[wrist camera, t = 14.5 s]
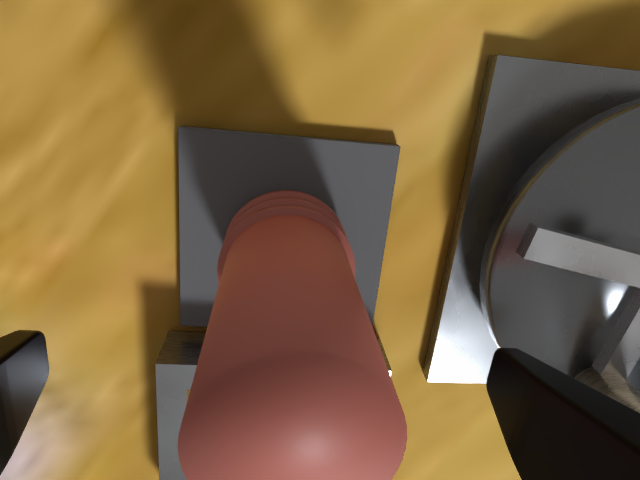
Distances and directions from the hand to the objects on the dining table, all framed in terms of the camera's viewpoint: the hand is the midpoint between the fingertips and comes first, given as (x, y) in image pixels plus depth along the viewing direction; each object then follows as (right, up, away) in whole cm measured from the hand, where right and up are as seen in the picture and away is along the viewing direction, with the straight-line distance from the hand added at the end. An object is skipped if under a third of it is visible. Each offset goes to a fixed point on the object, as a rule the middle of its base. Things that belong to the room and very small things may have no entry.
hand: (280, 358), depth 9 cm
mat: (0, +2, +7) cm, 7 cm away
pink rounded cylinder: (0, +2, +6) cm, 7 cm away
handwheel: (+12, +2, +6) cm, 13 cm away
